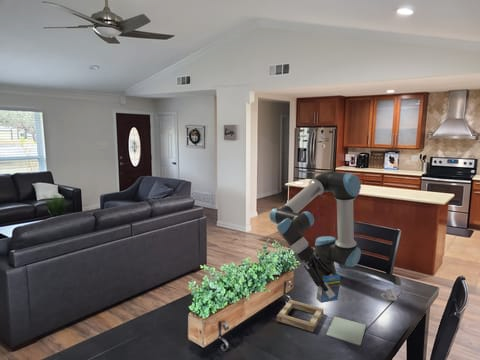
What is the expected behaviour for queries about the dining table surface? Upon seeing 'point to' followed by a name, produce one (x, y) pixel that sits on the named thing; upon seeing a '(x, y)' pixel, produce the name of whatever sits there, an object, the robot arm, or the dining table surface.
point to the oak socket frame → (297, 322)
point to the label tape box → (333, 286)
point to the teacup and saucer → (389, 295)
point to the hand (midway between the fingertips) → (335, 292)
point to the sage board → (346, 330)
